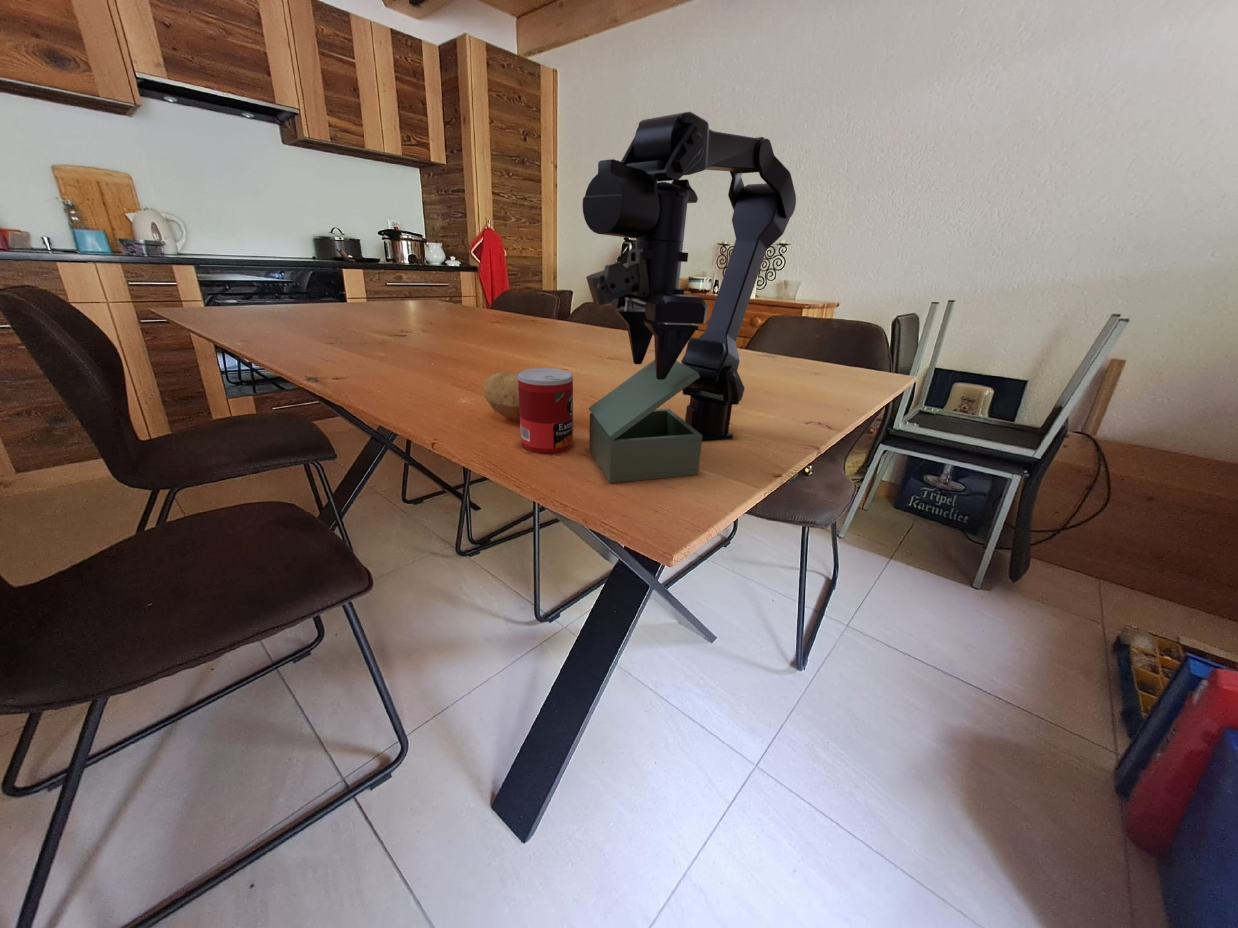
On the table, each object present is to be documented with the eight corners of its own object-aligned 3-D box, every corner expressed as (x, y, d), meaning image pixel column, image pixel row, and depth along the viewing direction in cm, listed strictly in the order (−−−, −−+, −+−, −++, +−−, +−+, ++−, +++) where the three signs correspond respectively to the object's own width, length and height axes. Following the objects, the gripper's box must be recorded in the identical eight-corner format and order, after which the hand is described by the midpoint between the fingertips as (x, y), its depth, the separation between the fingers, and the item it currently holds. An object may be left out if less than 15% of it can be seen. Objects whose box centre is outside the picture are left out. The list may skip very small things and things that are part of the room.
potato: (555, 433, 77) (554, 386, 73) (475, 424, 79) (471, 377, 76) (573, 415, 85) (573, 372, 82) (500, 407, 88) (498, 365, 85)
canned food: (564, 457, 68) (563, 382, 64) (512, 450, 70) (508, 377, 65) (579, 438, 75) (579, 370, 71) (531, 433, 76) (529, 366, 72)
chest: (666, 443, 75) (669, 408, 72) (697, 474, 65) (702, 435, 62) (589, 449, 71) (589, 413, 69) (609, 483, 61) (611, 442, 59)
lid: (665, 357, 69) (663, 353, 68) (700, 377, 59) (697, 372, 58) (591, 412, 69) (588, 408, 68) (612, 441, 59) (609, 436, 58)
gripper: (577, 239, 62) (575, 357, 69) (616, 233, 46) (608, 389, 52) (656, 245, 66) (647, 357, 72) (718, 242, 49) (699, 388, 55)
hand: (648, 371), depth 63 cm, fingers open, 9 cm apart
